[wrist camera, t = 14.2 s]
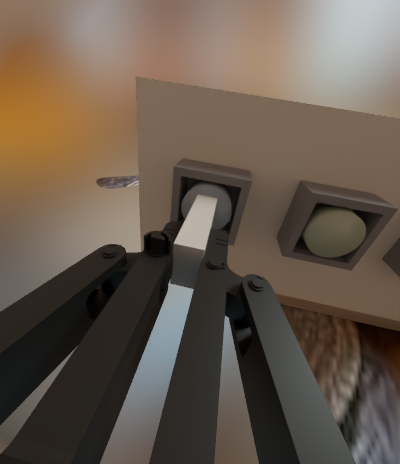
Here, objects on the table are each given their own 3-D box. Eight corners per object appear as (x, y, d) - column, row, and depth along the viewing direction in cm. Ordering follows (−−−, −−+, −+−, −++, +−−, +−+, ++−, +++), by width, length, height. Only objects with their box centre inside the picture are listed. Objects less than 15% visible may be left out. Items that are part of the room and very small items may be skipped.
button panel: (162, 238, 32) (168, 87, 21) (378, 285, 30) (509, 142, 19) (130, 290, 23) (113, 68, 12) (442, 363, 20) (769, 172, 10)
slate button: (184, 216, 18) (189, 174, 16) (226, 224, 18) (237, 183, 16) (179, 226, 17) (183, 181, 15) (225, 236, 16) (236, 191, 14)
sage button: (291, 238, 18) (311, 197, 16) (336, 247, 18) (363, 207, 15) (297, 251, 16) (320, 207, 14) (347, 262, 16) (378, 219, 14)
